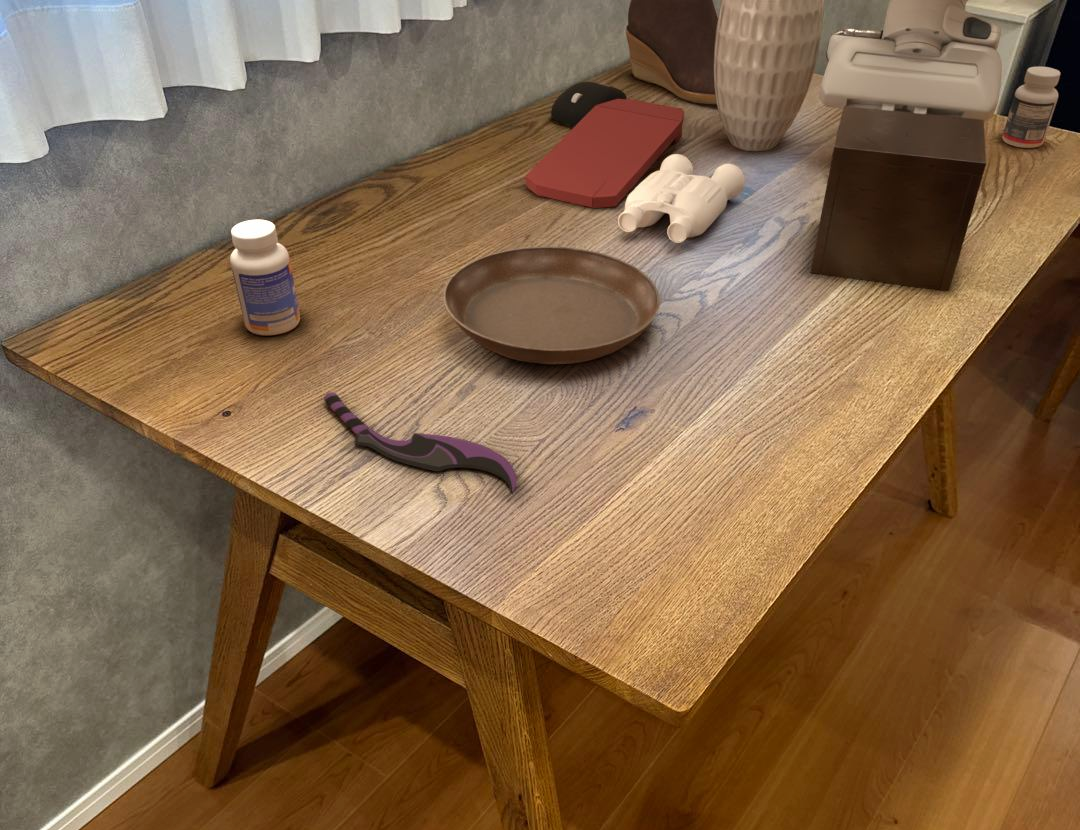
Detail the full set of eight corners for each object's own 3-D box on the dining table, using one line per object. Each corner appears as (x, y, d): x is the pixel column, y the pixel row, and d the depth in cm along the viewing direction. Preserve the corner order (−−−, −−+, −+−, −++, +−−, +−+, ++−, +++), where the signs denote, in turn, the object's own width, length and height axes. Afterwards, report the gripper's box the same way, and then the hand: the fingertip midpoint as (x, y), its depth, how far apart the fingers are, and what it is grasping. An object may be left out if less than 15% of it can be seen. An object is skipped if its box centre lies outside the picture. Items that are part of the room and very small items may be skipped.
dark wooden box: (949, 241, 112) (984, 119, 104) (949, 291, 104) (986, 163, 95) (821, 225, 116) (843, 105, 107) (810, 272, 107) (834, 146, 98)
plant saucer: (624, 264, 108) (626, 235, 106) (686, 366, 93) (689, 334, 91) (432, 284, 105) (429, 254, 103) (463, 392, 90) (461, 360, 88)
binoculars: (743, 201, 120) (748, 162, 117) (695, 256, 110) (699, 214, 107) (661, 185, 124) (664, 147, 121) (606, 236, 113) (608, 196, 110)
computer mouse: (639, 110, 144) (641, 80, 141) (586, 133, 137) (586, 102, 134) (598, 98, 148) (599, 69, 145) (544, 120, 141) (544, 90, 138)
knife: (331, 396, 89) (295, 427, 86) (329, 388, 89) (293, 420, 86) (537, 466, 82) (506, 504, 79) (536, 459, 81) (505, 496, 78)
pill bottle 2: (1008, 131, 138) (1029, 61, 132) (1048, 139, 135) (1071, 69, 129) (996, 143, 134) (1016, 72, 128) (1036, 152, 132) (1059, 80, 126)
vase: (684, 142, 135) (707, -108, 116) (746, 119, 141) (777, -121, 123) (760, 169, 128) (798, -91, 109) (821, 144, 134) (867, -106, 115)
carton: (611, 238, 121) (695, 139, 135) (610, 201, 117) (697, 103, 131) (523, 217, 125) (613, 123, 139) (519, 181, 122) (612, 88, 135)
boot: (740, 118, 141) (761, -45, 128) (607, 79, 154) (613, -73, 140) (775, 102, 146) (798, -57, 133) (643, 66, 159) (652, -82, 145)
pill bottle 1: (311, 323, 99) (296, 228, 93) (264, 343, 96) (244, 247, 90) (280, 303, 102) (263, 210, 96) (233, 322, 99) (212, 227, 93)
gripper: (833, 11, 120) (808, 124, 120) (1016, 29, 116) (990, 146, 116) (830, 40, 127) (806, 148, 126) (1003, 58, 122) (978, 169, 122)
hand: (895, 147), depth 121 cm, fingers closed
